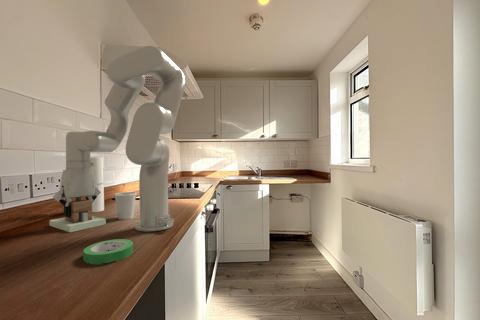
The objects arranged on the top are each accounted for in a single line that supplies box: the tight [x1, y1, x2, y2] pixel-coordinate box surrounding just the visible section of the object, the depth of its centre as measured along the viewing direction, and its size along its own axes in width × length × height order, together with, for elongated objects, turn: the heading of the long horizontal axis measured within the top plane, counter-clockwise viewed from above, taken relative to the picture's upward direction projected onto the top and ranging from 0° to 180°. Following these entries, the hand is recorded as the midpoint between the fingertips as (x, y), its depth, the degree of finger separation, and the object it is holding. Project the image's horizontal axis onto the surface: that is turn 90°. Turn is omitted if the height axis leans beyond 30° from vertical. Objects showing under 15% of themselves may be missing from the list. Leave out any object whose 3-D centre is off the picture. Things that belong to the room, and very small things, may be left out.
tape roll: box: [82, 238, 134, 265], centre depth 64 cm, size 11×11×3 cm
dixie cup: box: [113, 191, 137, 220], centre depth 105 cm, size 8×8×10 cm
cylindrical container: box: [90, 156, 105, 213], centre depth 120 cm, size 7×7×25 cm
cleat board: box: [49, 212, 107, 233], centre depth 94 cm, size 16×12×5 cm
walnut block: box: [64, 197, 93, 223], centre depth 93 cm, size 7×6×8 cm
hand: (78, 214), depth 93 cm, fingers closed on walnut block, 6 cm apart
